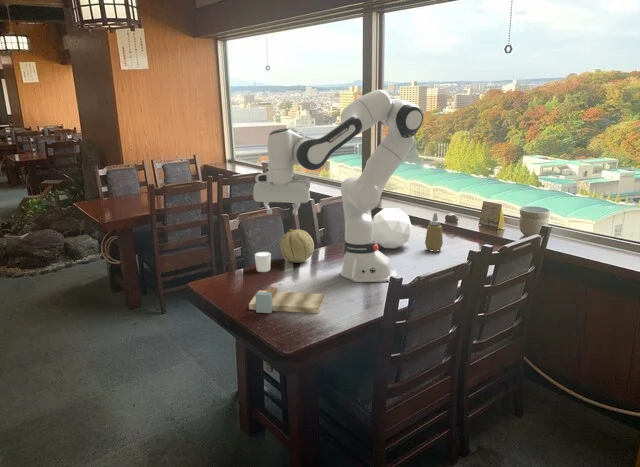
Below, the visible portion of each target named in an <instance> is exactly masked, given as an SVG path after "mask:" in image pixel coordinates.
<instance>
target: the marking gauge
mask: <svg viewBox="0 0 640 467" xmlns="http://www.w3.org/2000/svg"><path fill="white" fill-rule="evenodd" d="M266 291H267V292H258V291H257V292H256V293H255V295H254V296H256V310H255V312H256V313H258V314H259V313H263V314H272V313H273V307H272V298H273V296H274V295H275V293H276V292H277V291H278V287H276V286H275V287H274V286H270V287H269V288H268V290H266Z"/></svg>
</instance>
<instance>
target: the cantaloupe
mask: <svg viewBox="0 0 640 467" xmlns="http://www.w3.org/2000/svg"><path fill="white" fill-rule="evenodd" d="M279 247H280V253H281V254H282V256H283V258H284V259H285V260H287V261H289V262H290V263H296V264H297V263H303V262H306V261H307V260H309V259H310V257H312V255H313V253H314V249H315V243H314V239H313V238H312V236H311V235H310V234H309V232H308V231H306V230H303V229H292V228H289V229H288V231H287V232H286V233H284V235H283V236H282V237H281V239H280V243H279Z"/></svg>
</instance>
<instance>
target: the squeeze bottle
mask: <svg viewBox="0 0 640 467" xmlns="http://www.w3.org/2000/svg"><path fill="white" fill-rule="evenodd" d="M443 240H444V239H443V226H442V225H441V220H440V219H439V218H438V213H437V212H434V213H433V216H432V219H430V220H429V224H428V226H427V228H426V235H425V241H424V245H425V247H426V250H427V249H428V250H433V251H437V250H440V251H441V249H442V247H443V243H444V241H443ZM428 250H427V251H428Z"/></svg>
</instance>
